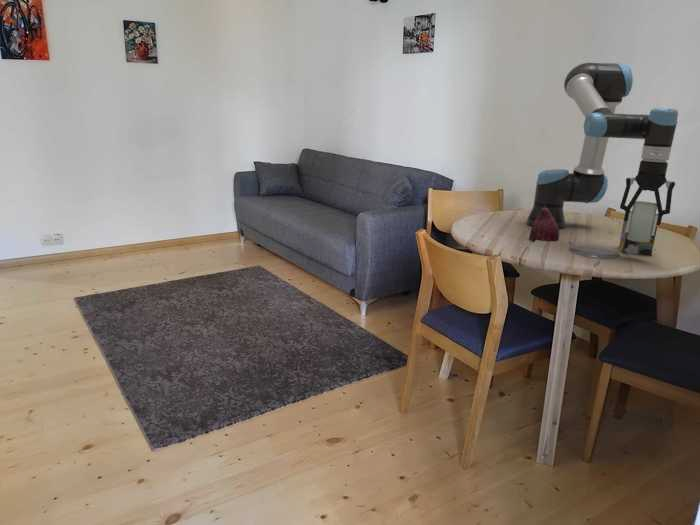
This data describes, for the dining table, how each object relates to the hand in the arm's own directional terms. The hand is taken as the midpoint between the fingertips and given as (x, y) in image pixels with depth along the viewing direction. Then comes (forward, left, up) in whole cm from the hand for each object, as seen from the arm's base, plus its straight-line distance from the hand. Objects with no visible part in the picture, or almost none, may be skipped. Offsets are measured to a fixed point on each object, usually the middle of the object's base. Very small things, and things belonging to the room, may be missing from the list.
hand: (639, 232), depth 166 cm
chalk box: (0, +12, -10) cm, 16 cm away
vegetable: (-30, +12, -10) cm, 34 cm away
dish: (-12, +1, -10) cm, 16 cm away
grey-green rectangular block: (0, 0, -2) cm, 2 cm away
